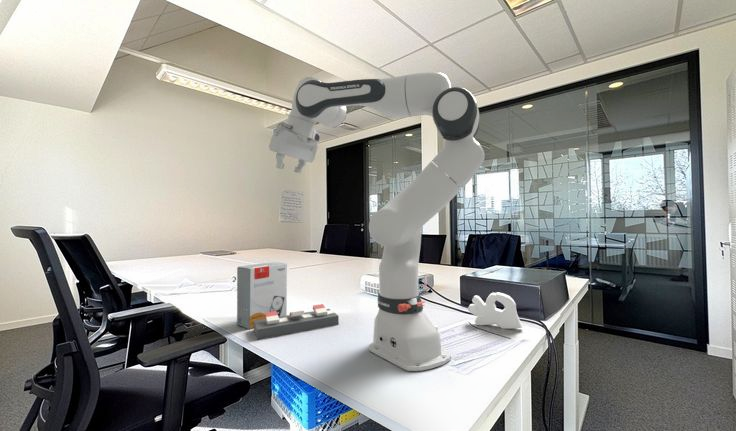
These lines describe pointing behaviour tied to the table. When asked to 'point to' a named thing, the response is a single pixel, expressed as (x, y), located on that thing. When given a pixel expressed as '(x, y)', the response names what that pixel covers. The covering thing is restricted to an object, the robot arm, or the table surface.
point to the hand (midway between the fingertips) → (288, 170)
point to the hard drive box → (261, 292)
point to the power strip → (294, 324)
